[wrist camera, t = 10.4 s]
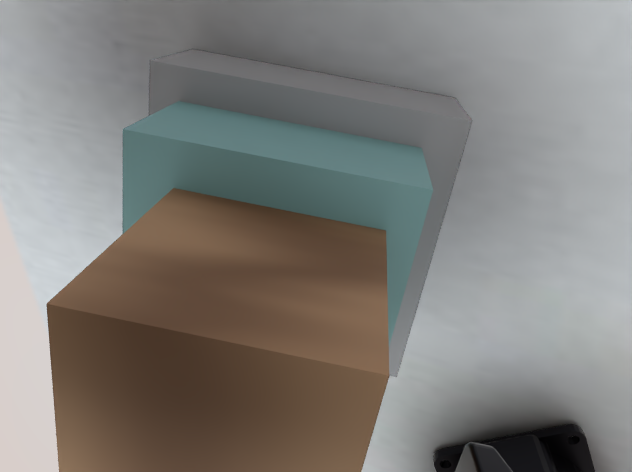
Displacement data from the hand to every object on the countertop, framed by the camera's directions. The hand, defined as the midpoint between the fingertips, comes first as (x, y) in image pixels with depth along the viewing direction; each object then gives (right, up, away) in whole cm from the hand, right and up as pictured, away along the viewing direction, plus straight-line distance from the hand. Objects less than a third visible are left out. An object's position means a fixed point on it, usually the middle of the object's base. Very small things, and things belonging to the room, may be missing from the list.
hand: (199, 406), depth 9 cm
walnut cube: (+1, +1, +4) cm, 4 cm away
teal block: (+1, +3, +7) cm, 8 cm away
